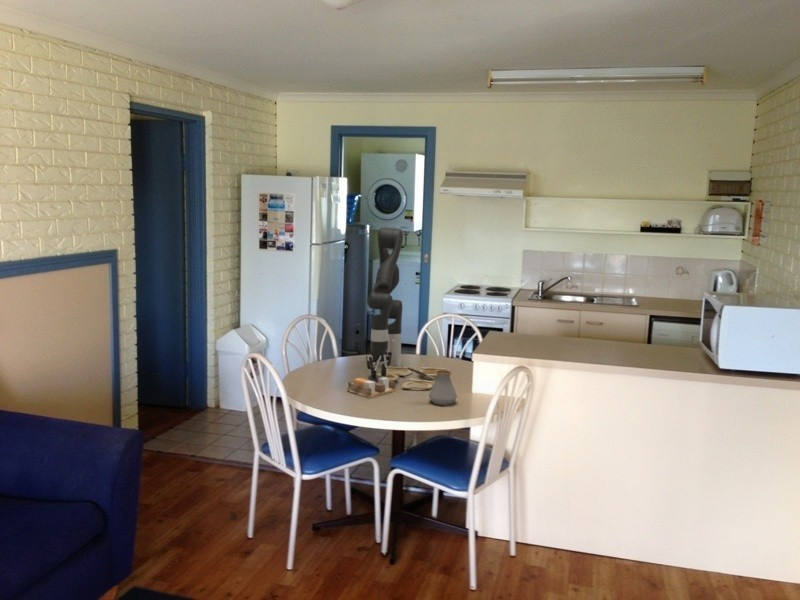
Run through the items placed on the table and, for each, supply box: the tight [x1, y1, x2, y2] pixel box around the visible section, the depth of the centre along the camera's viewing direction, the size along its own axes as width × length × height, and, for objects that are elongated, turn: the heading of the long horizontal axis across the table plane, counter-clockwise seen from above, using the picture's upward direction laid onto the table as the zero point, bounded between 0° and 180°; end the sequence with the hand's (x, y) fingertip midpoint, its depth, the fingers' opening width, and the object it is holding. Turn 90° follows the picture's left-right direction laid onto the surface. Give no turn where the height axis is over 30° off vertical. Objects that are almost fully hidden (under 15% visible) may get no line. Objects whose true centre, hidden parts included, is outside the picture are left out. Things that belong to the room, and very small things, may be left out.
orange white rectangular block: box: [353, 377, 375, 393], centre depth 294 cm, size 9×4×4 cm, turn 49°
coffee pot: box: [406, 366, 458, 406], centre depth 282 cm, size 21×12×15 cm, turn 97°
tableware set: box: [376, 366, 447, 391], centre depth 317 cm, size 35×29×4 cm
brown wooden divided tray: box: [346, 380, 397, 399], centre depth 297 cm, size 14×16×4 cm
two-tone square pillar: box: [367, 374, 389, 389], centre depth 300 cm, size 9×4×4 cm, turn 48°
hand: (378, 377), depth 299 cm, fingers open, 5 cm apart
